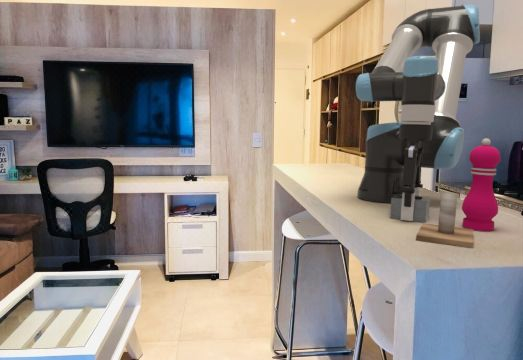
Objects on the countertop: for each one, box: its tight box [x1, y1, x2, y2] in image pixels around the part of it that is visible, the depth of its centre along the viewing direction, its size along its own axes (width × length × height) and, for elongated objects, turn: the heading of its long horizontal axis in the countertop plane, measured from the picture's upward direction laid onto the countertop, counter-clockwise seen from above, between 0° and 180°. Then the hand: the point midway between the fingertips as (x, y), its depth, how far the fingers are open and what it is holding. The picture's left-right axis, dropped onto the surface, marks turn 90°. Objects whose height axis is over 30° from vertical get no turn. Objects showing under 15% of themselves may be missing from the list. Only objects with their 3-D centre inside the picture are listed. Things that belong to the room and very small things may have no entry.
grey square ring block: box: [389, 194, 431, 223], centre depth 103 cm, size 8×8×5 cm
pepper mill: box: [461, 137, 501, 232], centre depth 93 cm, size 7×7×20 cm
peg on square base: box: [415, 191, 474, 249], centre depth 85 cm, size 12×10×9 cm
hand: (409, 216), depth 104 cm, fingers open, 9 cm apart
